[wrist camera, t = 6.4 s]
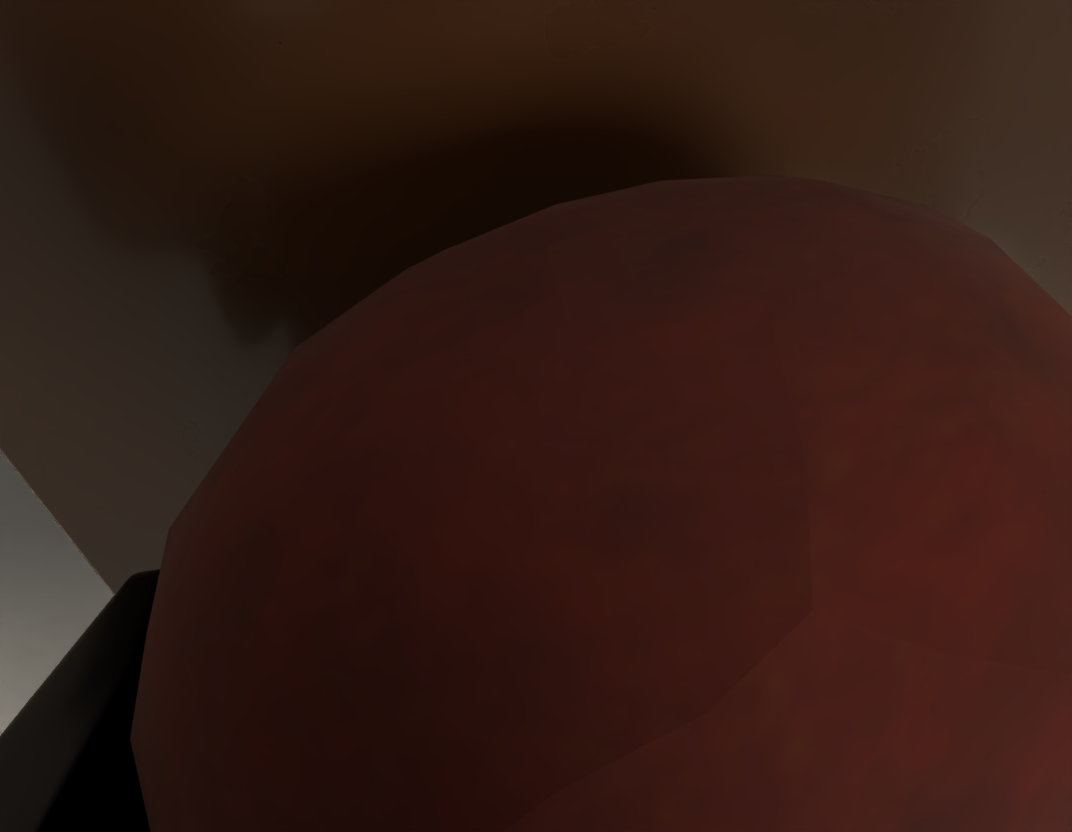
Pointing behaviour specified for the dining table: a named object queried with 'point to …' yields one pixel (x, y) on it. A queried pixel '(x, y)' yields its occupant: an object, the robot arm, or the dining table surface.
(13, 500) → the dining table surface
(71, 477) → the walnut box
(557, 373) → the potato
